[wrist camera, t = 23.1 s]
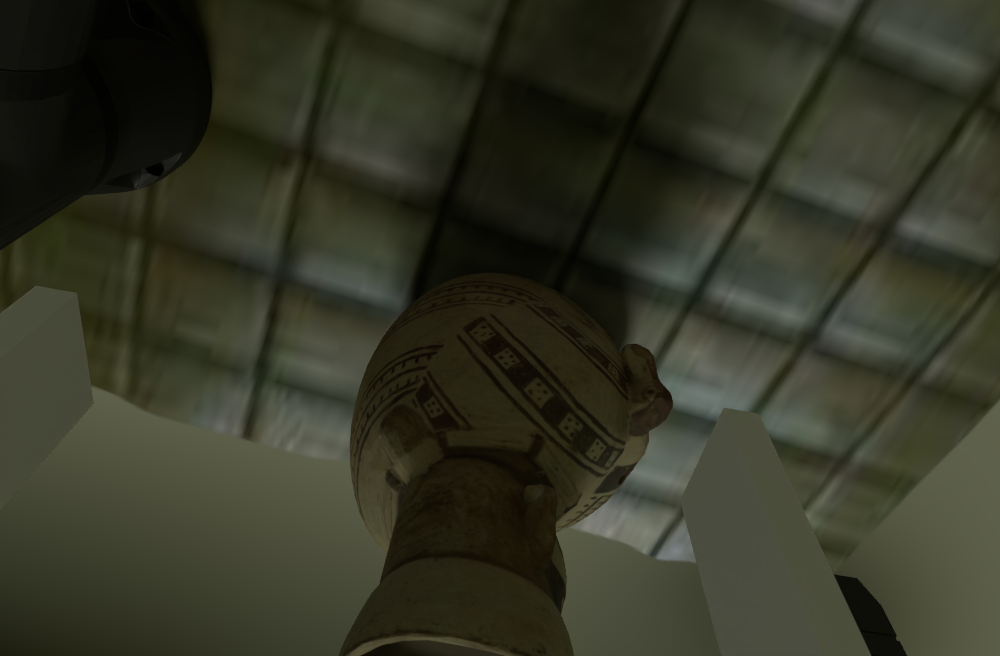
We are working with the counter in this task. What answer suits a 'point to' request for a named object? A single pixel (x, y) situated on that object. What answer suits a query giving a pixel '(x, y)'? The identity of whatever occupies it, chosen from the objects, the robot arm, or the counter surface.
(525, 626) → the ceramic vessel
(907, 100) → the counter surface
